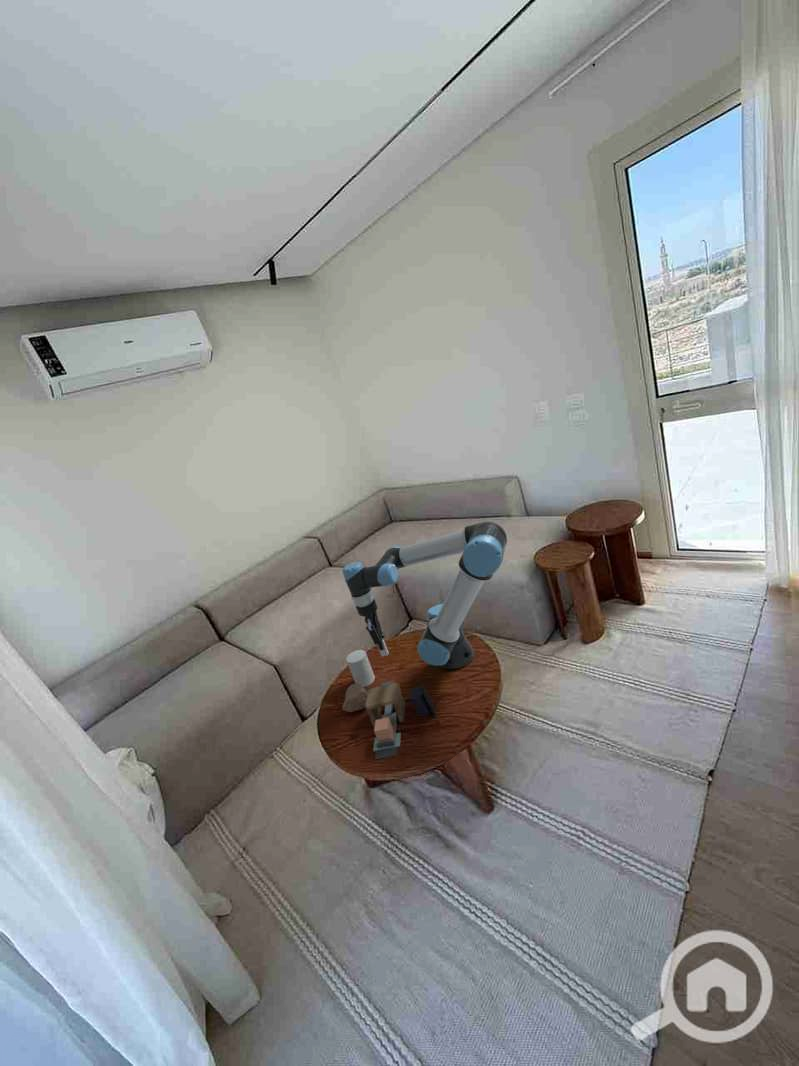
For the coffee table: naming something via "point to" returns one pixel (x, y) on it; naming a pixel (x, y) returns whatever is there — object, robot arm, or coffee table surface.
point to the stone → (355, 698)
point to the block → (383, 729)
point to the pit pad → (386, 753)
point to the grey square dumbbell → (392, 719)
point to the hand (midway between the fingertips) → (385, 654)
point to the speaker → (421, 701)
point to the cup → (360, 668)
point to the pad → (397, 743)
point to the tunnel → (385, 701)
